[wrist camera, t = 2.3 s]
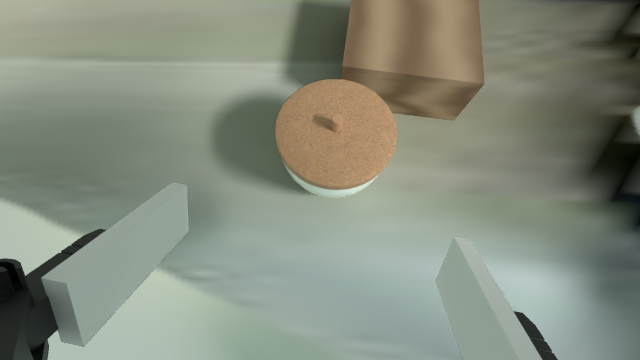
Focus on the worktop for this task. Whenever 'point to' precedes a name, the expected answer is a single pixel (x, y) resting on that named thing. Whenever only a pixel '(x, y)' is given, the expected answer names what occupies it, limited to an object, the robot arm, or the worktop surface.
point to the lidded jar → (335, 137)
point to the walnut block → (416, 54)
